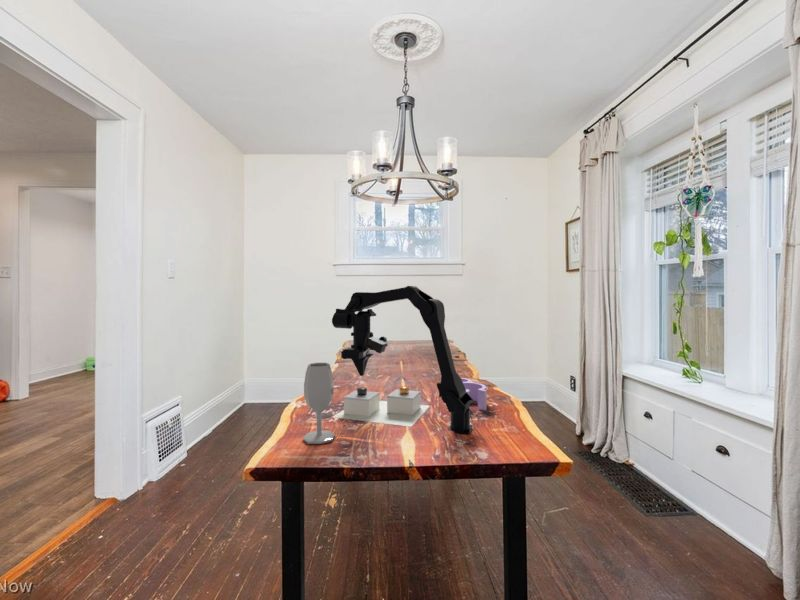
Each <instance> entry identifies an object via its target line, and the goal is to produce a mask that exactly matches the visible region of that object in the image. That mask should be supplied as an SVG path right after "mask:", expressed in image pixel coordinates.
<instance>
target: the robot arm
mask: <svg viewBox="0 0 800 600" xmlns="http://www.w3.org/2000/svg"><path fill="white" fill-rule="evenodd" d="M402 300H408V301H410V303H411V304H412V305H413V306H414V308H416V309H417V310H418V311H419V314H420V316H421V319H422V321H423V323H424V324H425V325H426V327H427V328H428V330H429V333H430V337H431V340H432V344H433V345H432V346H433V348H434V352H435V356H436V360H437V363H438V367H439V372H440V376H441V377H440V381H438V382H437V383H436V388H437V389H438V390H437V391H438V393H439V395H438V398H441V400H442V402H443V403H444V404H445V405H446V409H447V411H448V413H450V425H449V426H448V428H447V431H450V432H454V433H457V434H458V433H459V434H463V435H464V434H465V435H469V434H471V432H472V430H473V425H472V424H471V422H470V421H471V415H470V414H471V410H470V409H469V407H470V408H471V407H472V406H473V403H474V401H473V399H472V398H471V397H470V396H469V394H468V393H467V392H466V389H465V387H464V384H463V382H462V380H461V378H462V377H460V376H459V374H458V373H457V371H456V366H455V363H454V360H453V355H452V352H451V348H450V344H449V340H448V336H447V333H446V328H445V321H446V313H445V306H444V303H443V301H441V300H439V299H437V298H433V297H432V296H431V295H429V294H427V293H426V292H424V291H422V290H421V289H420V288H419V287H417V286H416V285H407V286H404V287H400V288H393V289H389V290H382V291H378V292H375V291H374V292H373V291H371V292H370V291H366V292H364V291H363V292H362V291H360V292H359V291H358V292H357V291H356V292H353V293H352V295H351V297H350V300H349V302H348V303H347V305H346V307H345V308H335V312H334V313H333V316H332V319H331V323H332V327H333V328H335V329H350V330H351V329H352V330H353V331H352V332H350V337H352V338H353V339H352V340H353V341H352V342H353V343H352V344H351V345H350V347H346V348H345V349H343V350H341V352H340V355H341V356H340V357H341V359H348V360H350V359H351V361H352V362H353V364H354V366H355V369H356V370H357V373H358V374H359V376H360V377H363V376H364V375H365V372H366V369H367V365H368V362H369V360H370V358H372V356H374V353H371V352H370V351H374V352H375V353H378V354H382V353H384V352H385V351H386V348H387V347H388V346H389V345H388V341H387V337H386V336H383V335H382V336H380V337H379V338H378V337H375V336H374V333H373V331H371V318H372V317H376V316H377V313H375V312H374V311H373V309H372V308H374V307H376V306H378V305H380V304H384V303H391V302H395V301H397V302H398V301H402Z"/></svg>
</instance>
